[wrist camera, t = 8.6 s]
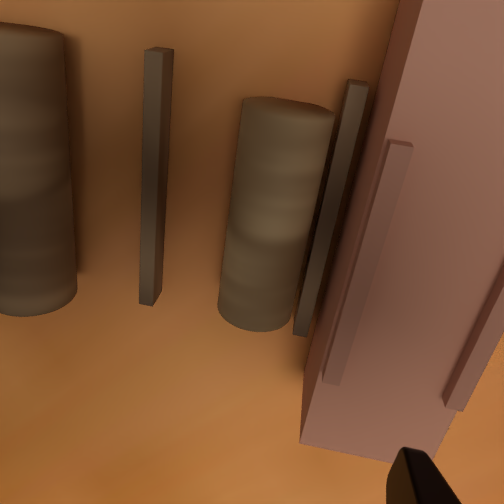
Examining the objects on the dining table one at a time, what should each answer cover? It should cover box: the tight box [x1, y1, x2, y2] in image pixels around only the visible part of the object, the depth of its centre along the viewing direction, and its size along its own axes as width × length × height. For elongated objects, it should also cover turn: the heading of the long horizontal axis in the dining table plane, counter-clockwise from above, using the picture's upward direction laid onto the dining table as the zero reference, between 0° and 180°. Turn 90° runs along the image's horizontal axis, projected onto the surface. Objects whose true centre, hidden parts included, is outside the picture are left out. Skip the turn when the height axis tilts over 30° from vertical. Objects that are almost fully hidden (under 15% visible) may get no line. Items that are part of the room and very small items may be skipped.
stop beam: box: [299, 0, 504, 463], centre depth 16 cm, size 16×5×4 cm, turn 172°
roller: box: [217, 97, 335, 332], centre depth 17 cm, size 8×3×3 cm
